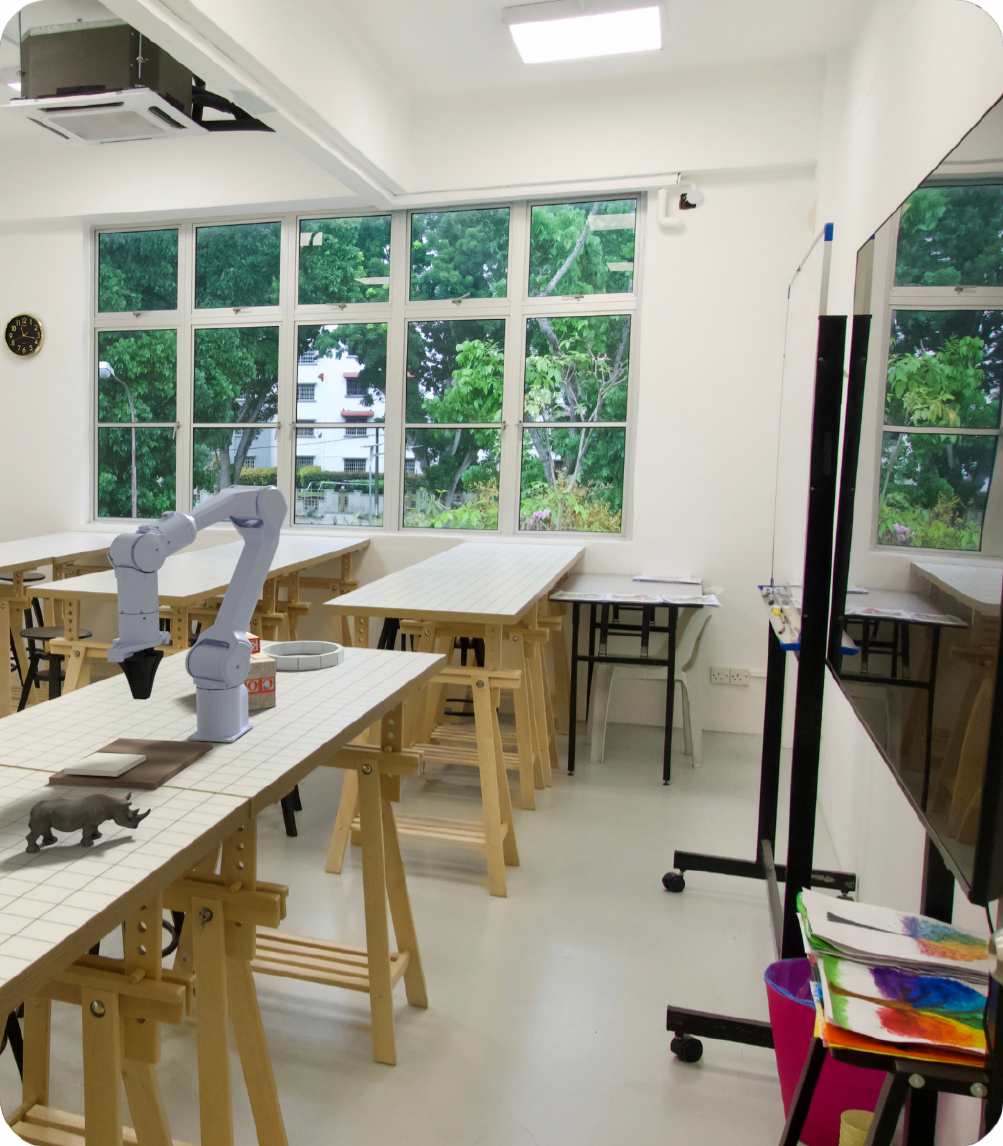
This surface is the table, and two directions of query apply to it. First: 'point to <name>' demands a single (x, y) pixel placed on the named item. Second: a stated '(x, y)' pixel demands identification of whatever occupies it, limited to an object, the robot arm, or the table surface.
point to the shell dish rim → (329, 656)
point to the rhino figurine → (79, 817)
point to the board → (141, 764)
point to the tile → (105, 764)
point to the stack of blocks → (260, 677)
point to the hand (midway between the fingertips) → (141, 698)
